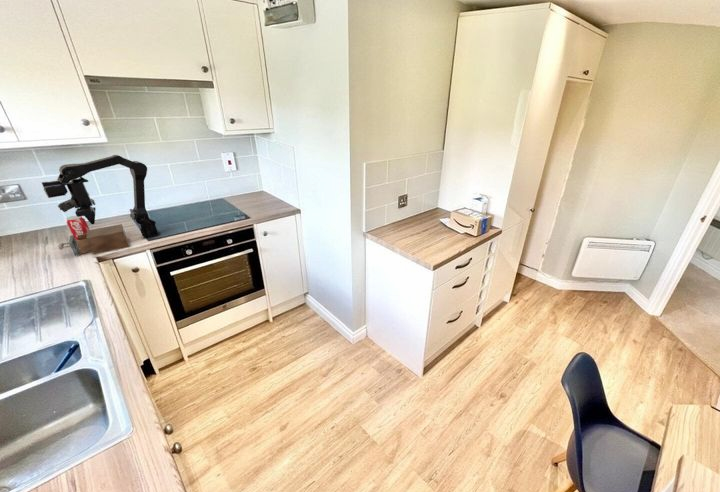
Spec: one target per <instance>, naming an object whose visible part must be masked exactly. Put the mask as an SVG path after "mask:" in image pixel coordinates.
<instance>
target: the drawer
mask: <svg viewBox="0 0 720 492" xmlns="http://www.w3.org/2000/svg"><path fill="white" fill-rule="evenodd" d="M77 237H78V239H79V240H76V239H75V237H74V235H72V234H71V235H69V240H68V242H60V243H59V245H58V249H59V251H60V250H63V249H66V248H70V249H71V250H72V251H71V252H72V253H73V255H74V256H75V257H77V256H79V255H80V252H81V254H86V253H91V252H93V251H92V249H91V247H90V245H89V243H88V241H87V239H86V237H87V233H86V234H81V235H77Z"/></svg>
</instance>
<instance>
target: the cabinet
mask: <svg viewBox="0 0 720 492" xmlns="http://www.w3.org/2000/svg"><path fill="white" fill-rule="evenodd" d="M86 239H87V241H88V243H89V245H90V247H91V249H92V251H91V252H92V253H93V255H97V254H101V253H106V252H110V251H111V252H112V251H116V250H122V249H124V248H130V243H129V239H128V236H127V233H126V231H125V228H124V226H123V224H122V223H121V224H115V225H109V226H103V227H98V228H92V229H90V230H87V237H86Z"/></svg>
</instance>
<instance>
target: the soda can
mask: <svg viewBox="0 0 720 492" xmlns="http://www.w3.org/2000/svg"><path fill="white" fill-rule="evenodd" d="M66 225H67V227H68V229H69V231H70V233H71V235H74V237H75V239H76V241H79V239H78V237H77V235H81V234H86V233H87V230H91V229H90V228H89V225H88V223H87V220H86V219H85V217H83V216H80V217H77V216H76V215H72V216H69V217H67V218H66Z"/></svg>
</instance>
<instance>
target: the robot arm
mask: <svg viewBox="0 0 720 492" xmlns="http://www.w3.org/2000/svg"><path fill="white" fill-rule="evenodd" d="M117 165H121V166H123V167H126V168H128V169H129V171H130V175H131V177H132V181H133V203H134V205H133V208H130V209H129V212H130V214H129V217H131V219H132V221H134V222H135V223H136V224H138V225H139V226H140V228H139V231H140V233H141V235H142V237H143V238H144V239H148V238H152V237H158V236H159V235H160V234H159V232H158V229H157V225H156V221H155V220H154V219H152V218H151V217H149V213H148V210H147V209H146V196H145V195H146V194H145V179H146V177H147V174H148V166H147V164H145V163H143V162H140V161H139V160H130V159H128V158H124V157H122V156H121V155H119V154H113V155H110V156H107V157H103V158H99V159H94V160H91V161H86V162H82V163H68V164H66V163H65V164H62V165H60V167H59V170H58V172H59V174H58V177H57V179H56V180H51V181H42V182H41V185H42V188H43V191H44V193H45V195H46V196H47V198H48V199H51V198H52V199H53V198H56V197H58V198H59V197H63V196H66V195H67V194H68V191H69V194H70V196H71V197H70V198H69V199H67V200H64V201H62V202H61V203H58V205H57V208H58V209H59V210H60V211H62V212H63V213H66V212H68V211H69V210H71V209H75V212H74V214H75V216H77V217H80V216H82V217H84V218H86V221H88V222H89V223H90V224H91V225H95V224H96V207H95V205H96V202H95V199H93V198H91V197H90V193H89V192H88V190H87V188H86V186H85V184H84V183H88V182H89V180H88V179H87V178H84V177H83V176H85V175H87V174H89V173H91V172H95V171H99V170H102V169H106V168H109V167H114V166H117ZM93 206H94V207H93Z"/></svg>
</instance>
